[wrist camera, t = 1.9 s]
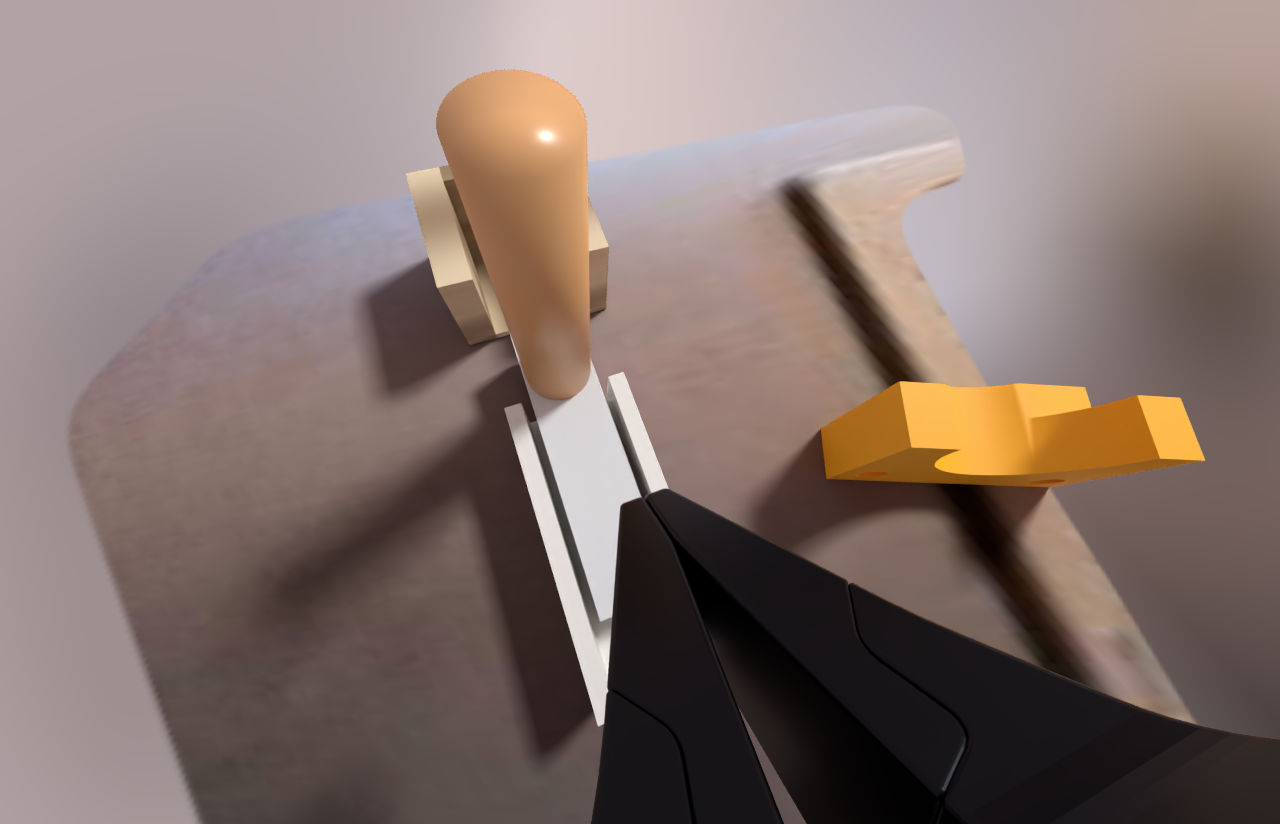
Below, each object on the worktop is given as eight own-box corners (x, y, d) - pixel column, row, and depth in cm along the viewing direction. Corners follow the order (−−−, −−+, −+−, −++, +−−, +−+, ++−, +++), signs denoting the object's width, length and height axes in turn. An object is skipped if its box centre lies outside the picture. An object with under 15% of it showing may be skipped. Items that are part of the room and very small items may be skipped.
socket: (605, 308, 24) (608, 246, 19) (469, 345, 23) (437, 288, 18) (571, 220, 26) (566, 142, 21) (442, 249, 24) (405, 173, 19)
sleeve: (713, 647, 19) (735, 663, 16) (597, 699, 18) (597, 726, 15) (619, 397, 22) (623, 372, 19) (516, 429, 21) (504, 408, 18)
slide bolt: (666, 587, 19) (820, 638, 6) (599, 615, 19) (614, 734, 6) (576, 337, 23) (552, 27, 10) (517, 353, 22) (405, 46, 9)
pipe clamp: (1024, 409, 25) (1164, 358, 19) (1046, 487, 23) (1205, 460, 17) (815, 398, 24) (892, 340, 18) (825, 479, 22) (911, 447, 16)
